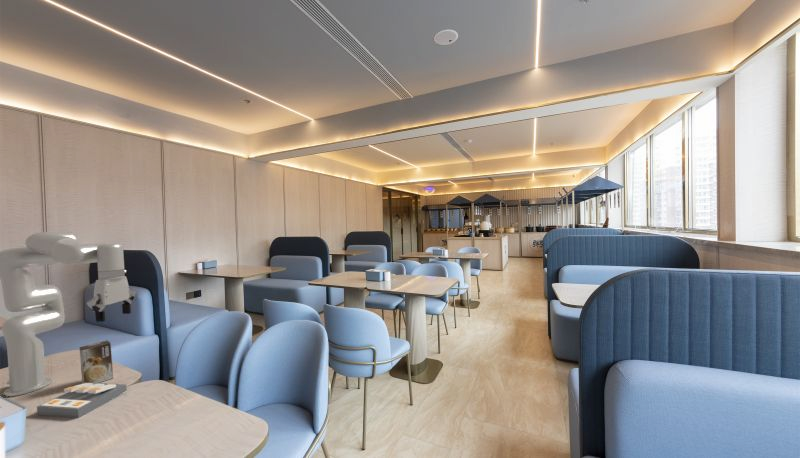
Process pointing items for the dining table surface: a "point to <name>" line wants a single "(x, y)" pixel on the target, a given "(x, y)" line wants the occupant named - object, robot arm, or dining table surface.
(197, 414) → the dining table surface
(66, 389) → the rocker
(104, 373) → the coffee box
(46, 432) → the dining table surface
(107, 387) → the rocker
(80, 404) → the switch unit
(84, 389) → the rocker
